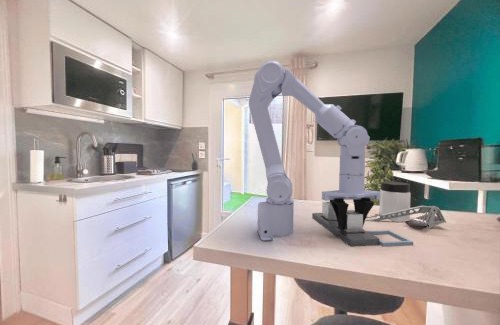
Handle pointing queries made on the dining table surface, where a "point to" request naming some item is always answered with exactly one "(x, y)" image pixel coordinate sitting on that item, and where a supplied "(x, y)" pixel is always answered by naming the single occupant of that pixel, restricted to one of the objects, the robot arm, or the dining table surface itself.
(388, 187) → the jar
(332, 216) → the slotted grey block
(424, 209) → the bracket
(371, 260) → the dining table surface
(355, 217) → the light grey rectangular block
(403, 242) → the tray
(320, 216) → the slotted metal plate
